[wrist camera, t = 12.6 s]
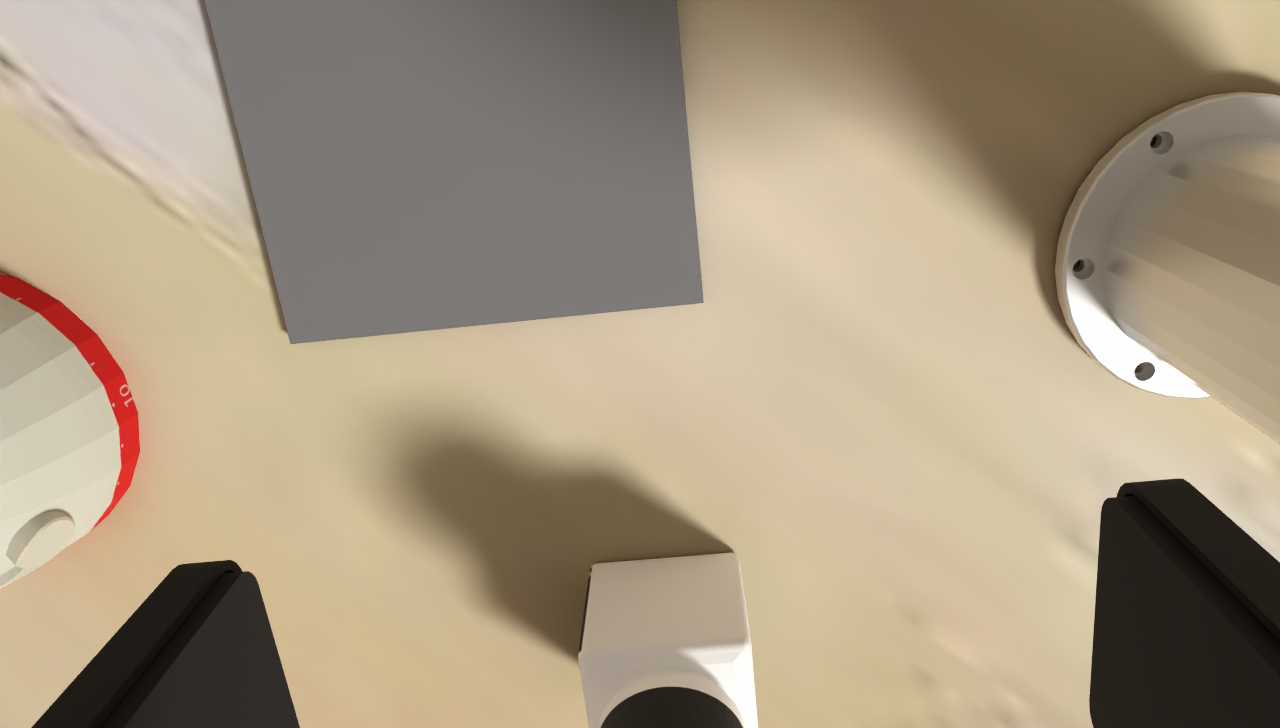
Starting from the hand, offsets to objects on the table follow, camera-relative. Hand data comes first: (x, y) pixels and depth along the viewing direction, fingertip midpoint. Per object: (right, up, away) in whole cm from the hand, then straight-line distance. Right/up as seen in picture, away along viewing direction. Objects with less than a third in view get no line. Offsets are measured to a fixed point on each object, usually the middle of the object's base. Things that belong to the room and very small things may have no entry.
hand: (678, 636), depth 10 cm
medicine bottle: (+1, -9, +36) cm, 37 cm away
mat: (-8, +13, +28) cm, 32 cm away
